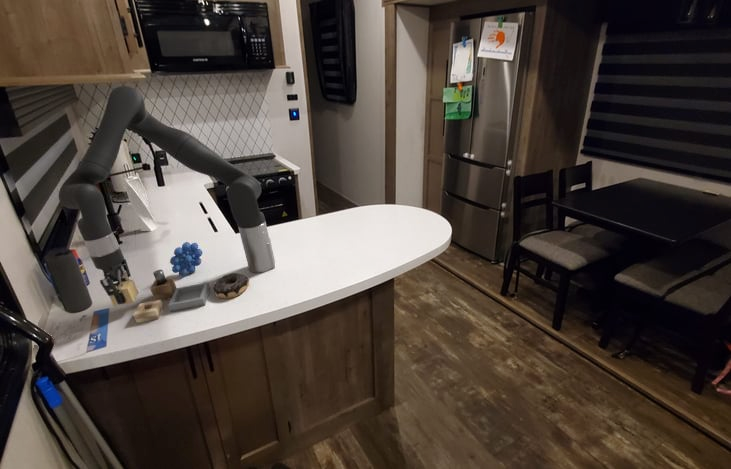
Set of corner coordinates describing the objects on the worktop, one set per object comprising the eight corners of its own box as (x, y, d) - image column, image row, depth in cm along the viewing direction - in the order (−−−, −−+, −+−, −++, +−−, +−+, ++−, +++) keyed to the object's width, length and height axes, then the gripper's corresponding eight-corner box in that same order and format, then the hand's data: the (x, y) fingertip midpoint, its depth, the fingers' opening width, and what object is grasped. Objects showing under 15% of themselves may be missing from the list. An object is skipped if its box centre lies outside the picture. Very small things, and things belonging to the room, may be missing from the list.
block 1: (138, 292, 119) (133, 279, 117) (133, 302, 114) (127, 288, 112) (120, 296, 118) (114, 283, 116) (113, 306, 113) (107, 292, 111)
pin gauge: (172, 292, 125) (163, 268, 121) (170, 296, 122) (161, 273, 119) (163, 293, 124) (154, 270, 121) (161, 298, 122) (152, 274, 118)
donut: (253, 279, 128) (250, 269, 127) (244, 299, 117) (241, 288, 116) (221, 282, 128) (218, 272, 127) (209, 302, 118) (206, 291, 116)
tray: (209, 288, 125) (207, 282, 124) (205, 305, 116) (202, 298, 115) (178, 294, 123) (176, 288, 122) (171, 312, 114) (168, 305, 113)
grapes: (201, 263, 142) (193, 234, 137) (209, 268, 138) (200, 239, 133) (171, 276, 135) (160, 246, 130) (178, 282, 131) (167, 251, 126)
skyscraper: (162, 225, 184) (143, 170, 172) (153, 232, 177) (132, 175, 165) (147, 226, 185) (127, 171, 173) (138, 232, 178) (116, 176, 166)
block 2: (177, 289, 126) (172, 276, 124) (173, 298, 121) (168, 285, 119) (159, 292, 125) (155, 280, 123) (155, 301, 120) (150, 288, 118)
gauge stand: (163, 307, 117) (160, 299, 115) (158, 318, 111) (155, 310, 110) (143, 311, 116) (139, 303, 114) (136, 323, 110) (133, 314, 109)
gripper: (100, 242, 115) (121, 288, 122) (79, 263, 102) (103, 313, 109) (126, 237, 116) (145, 283, 123) (108, 257, 103) (131, 308, 110)
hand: (125, 297), depth 116 cm, fingers closed on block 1, 5 cm apart
